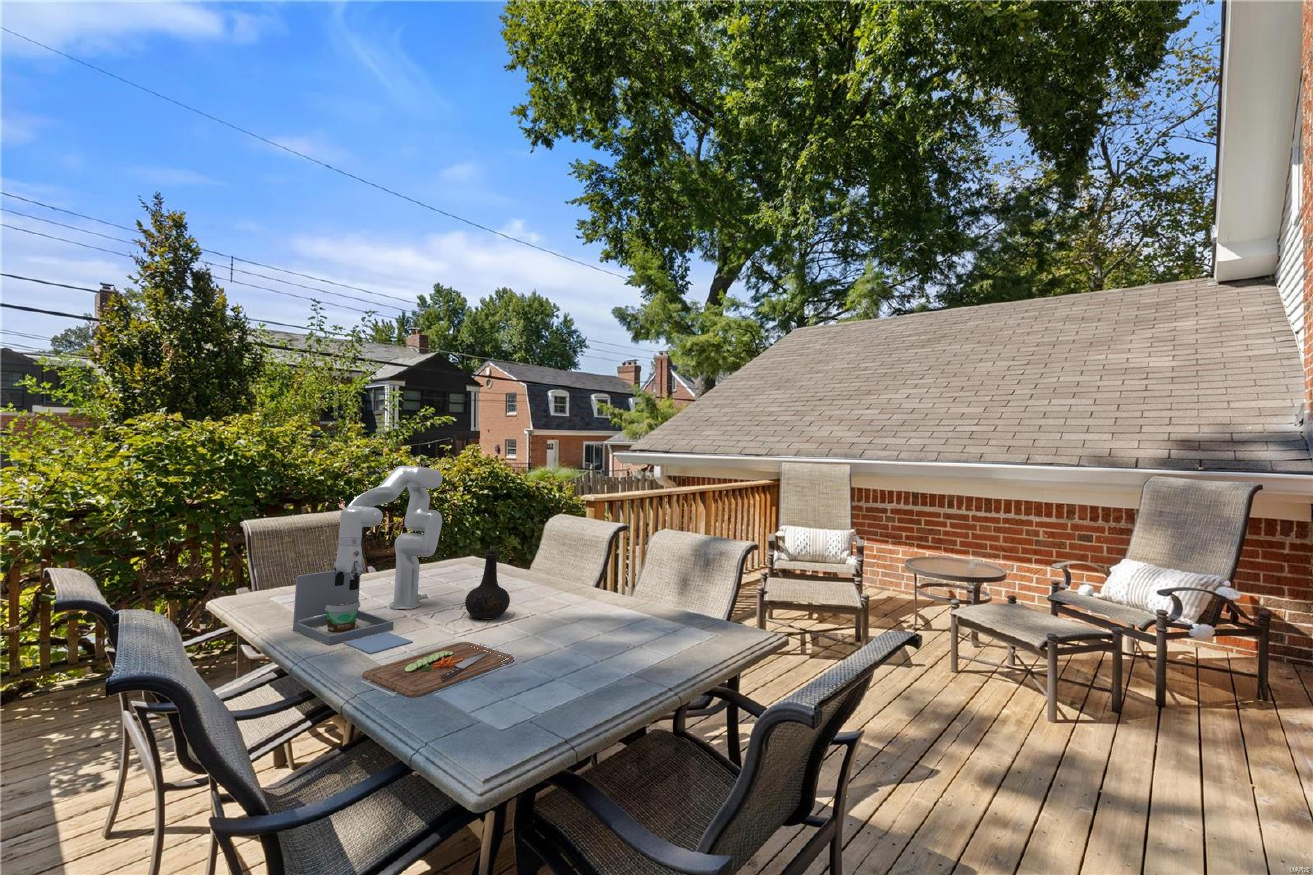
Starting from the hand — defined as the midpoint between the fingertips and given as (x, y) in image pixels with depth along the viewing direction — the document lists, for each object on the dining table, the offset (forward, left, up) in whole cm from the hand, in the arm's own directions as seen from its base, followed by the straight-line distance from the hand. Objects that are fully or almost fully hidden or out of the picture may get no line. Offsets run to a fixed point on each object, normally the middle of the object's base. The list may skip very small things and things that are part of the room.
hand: (346, 587), depth 218 cm
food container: (-1, 0, -16) cm, 16 cm away
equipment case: (-1, 0, -16) cm, 16 cm away
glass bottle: (-48, +24, -16) cm, 56 cm away
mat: (-1, +22, -16) cm, 27 cm away
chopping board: (0, +57, -17) cm, 59 cm away
